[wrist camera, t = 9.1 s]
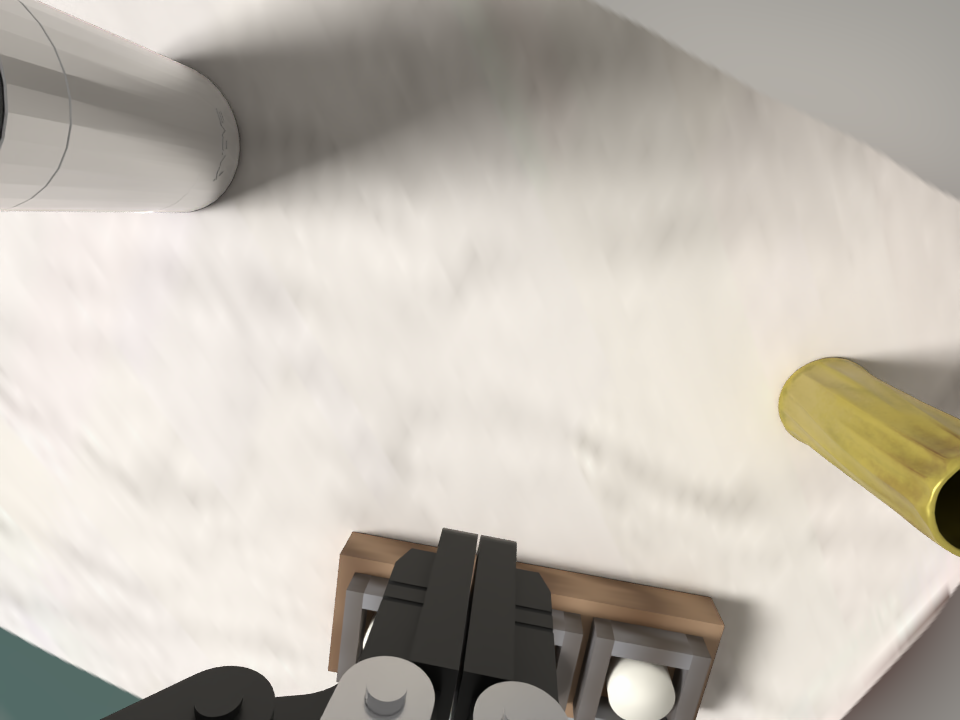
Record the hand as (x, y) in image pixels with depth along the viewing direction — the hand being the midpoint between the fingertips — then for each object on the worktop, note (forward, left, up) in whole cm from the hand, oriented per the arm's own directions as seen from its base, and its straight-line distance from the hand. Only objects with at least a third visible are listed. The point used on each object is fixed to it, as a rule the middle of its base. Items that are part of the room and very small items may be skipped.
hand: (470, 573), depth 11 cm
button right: (+13, -23, -25) cm, 36 cm away
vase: (+21, -2, -28) cm, 35 cm away
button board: (+4, -23, -28) cm, 36 cm away
